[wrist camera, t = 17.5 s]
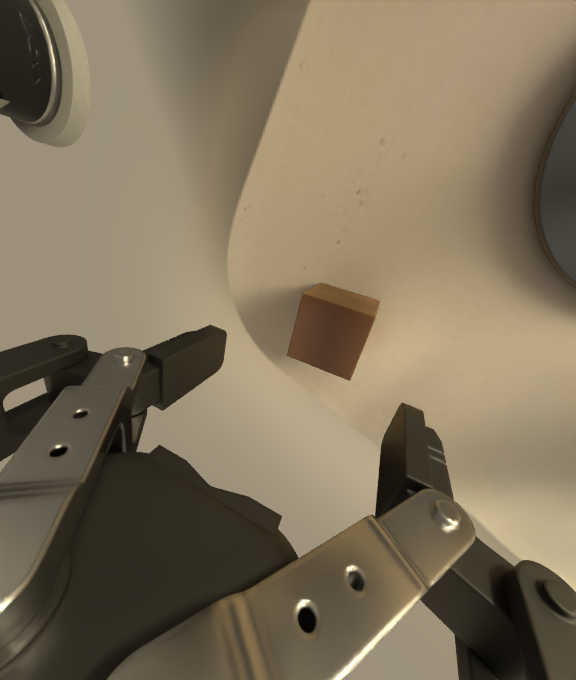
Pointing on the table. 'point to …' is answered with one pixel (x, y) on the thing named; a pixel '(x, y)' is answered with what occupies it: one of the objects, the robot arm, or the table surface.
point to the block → (332, 329)
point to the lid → (559, 195)
